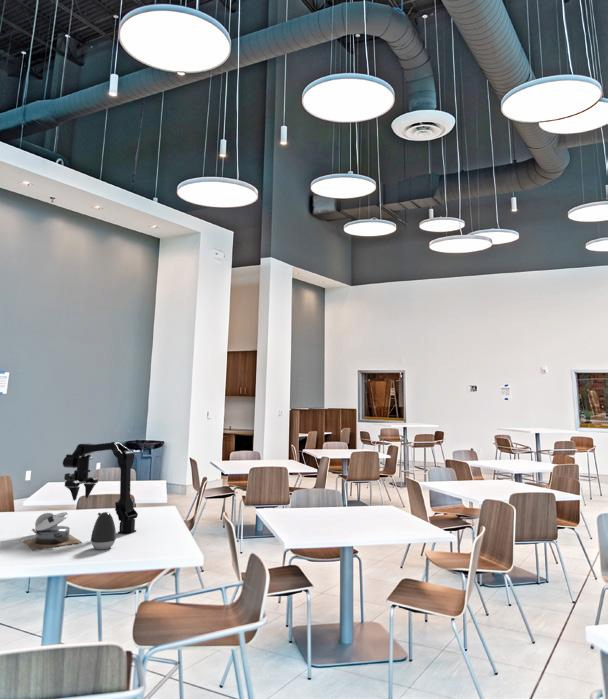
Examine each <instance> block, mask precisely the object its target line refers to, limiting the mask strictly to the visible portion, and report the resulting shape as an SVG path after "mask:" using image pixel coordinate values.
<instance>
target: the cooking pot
mask: <svg viewBox="0 0 608 699" xmlns="http://www.w3.org/2000/svg"><path fill="white" fill-rule="evenodd" d="M70 529H71V528H70V527H69V526H66V525H57V526H53V527H51V528H49V529H46V530H43V531H37V533H35V538H36V542H35V543H36V544H40V545H52V544H59V543H64V542H67V541H68V540H69V534H70Z"/></svg>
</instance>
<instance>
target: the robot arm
mask: <svg viewBox="0 0 608 699" xmlns="http://www.w3.org/2000/svg"><path fill="white" fill-rule="evenodd" d="M101 451H102V452H103V451H112V453H113V455H114V457H116V459H117V464H118V467H119V469H120V480H119V481H120V482H119V485H120V486H119V499H118V501H115V508H114V512H115V514H116V515H117V519H118V521H119V531H117V533H118V534H126V533H130V534H132V533H135V532H137V529H135V528H136V527H135V526H136V519H137V518H138V515H139V514H138V512H137V511H136V510H135V508H134V502H133V500H132V497H131V480H132V478H131V476H132V475H131V472H132V471H131V468H132V467H133V464H134V461H135V453H134V452H133V451H132V450H130V449H129V448H128V447H126V446H124V445H123V444H122V443H121V442H119V441H111V442H107V443H79V444H77V446H76V448H75V450H74V451H73V452H72V453H71V454H66V455H65V457H64V458H63V460H62V466H63V467H64V468H67V469H68V468H69V469H72V468H73V469H75V468H76V469H75V470H74V472H73V473H70V472H69V473H65V474H64V478H63V479H64V480H65V481H64V487H66V489H68V490H69V491H70V494H71V497H72V501H76V500H77V497H78V494H79V491H80V485H82V484H83V486H84V487H85V488H84V489H85V490H84V491H85V492H84V497H85V499H88V498H89V496H90V495H91V492H92V491H93V489H94V487H95V486H96V485H97V484H98V482H99V479H98V477H97V476H96V477H95V476H94V477H93V476H92V477H91V476H89V473H90V472H91V469H89V468H90V460H94V457H93V456H92V455H91V454H94V453H95V452H96V453H97V452H101Z"/></svg>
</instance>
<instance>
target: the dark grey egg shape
mask: <svg viewBox="0 0 608 699" xmlns="http://www.w3.org/2000/svg"><path fill="white" fill-rule="evenodd" d="M97 516H98V517H97V518H96V520H95V522H94V525H93V528H92V530H91V531H92V532H91V538H90V542H91V545H92V546H93V548H94V549H96V550H98V549H100V551H101V549H104V550H107V549H108V550H109V549H110V548H111V547H113V545H114V544H115V541H116V540H117V533H116V532H117V531H116V525H115V522H114V518H113V516H112V515H111V513H110V512H107V511H104V512H98V513H97Z"/></svg>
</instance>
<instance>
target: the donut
mask: <svg viewBox="0 0 608 699" xmlns="http://www.w3.org/2000/svg"><path fill="white" fill-rule="evenodd" d="M54 515H55V514H53V513H52V512H46V513H45V512H43V513H42V514H40V515H39V516H38V517H37V519H36V520H35V523H34V525H35V528H36V526H37V525H38V524H40V523H41V522H42V521H44V520H46V519H47V518H48V517H49V516H54ZM55 526H59V524H57V525H55ZM35 528H34V529H35Z"/></svg>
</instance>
